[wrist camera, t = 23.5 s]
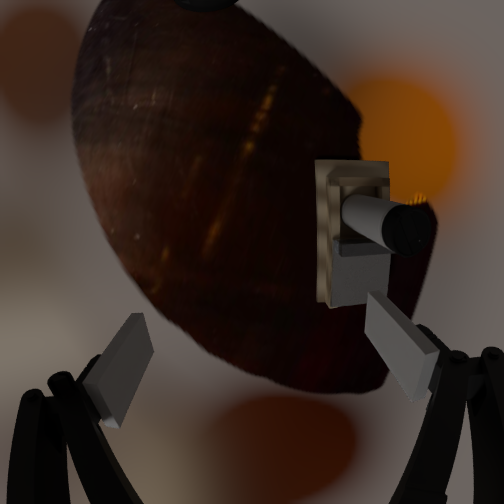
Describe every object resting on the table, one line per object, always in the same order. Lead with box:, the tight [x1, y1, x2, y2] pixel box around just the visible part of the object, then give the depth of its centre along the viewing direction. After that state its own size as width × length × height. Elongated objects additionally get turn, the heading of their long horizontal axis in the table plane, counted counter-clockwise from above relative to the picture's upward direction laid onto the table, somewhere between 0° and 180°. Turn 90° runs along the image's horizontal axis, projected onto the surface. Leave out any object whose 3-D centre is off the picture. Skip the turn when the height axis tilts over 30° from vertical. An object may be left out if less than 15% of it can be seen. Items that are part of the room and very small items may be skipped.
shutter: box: [330, 238, 395, 307], centre depth 46 cm, size 12×11×4 cm
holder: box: [315, 160, 390, 308], centre depth 49 cm, size 26×14×4 cm, turn 3°
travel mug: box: [340, 194, 431, 258], centre depth 39 cm, size 6×7×20 cm
